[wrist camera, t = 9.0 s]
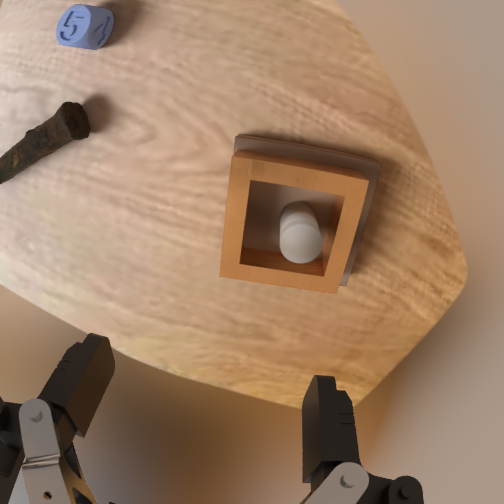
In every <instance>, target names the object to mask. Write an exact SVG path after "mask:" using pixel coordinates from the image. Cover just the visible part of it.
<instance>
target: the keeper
mask: <svg viewBox="0 0 504 504" xmlns="http://www.w3.org/2000/svg"><path fill="white" fill-rule="evenodd" d="M237 150H242V151H249V152H257V153H263V154H270V155H276V156H283V157H289V158H294V159H300V160H306V161H311V162H317V163H322V164H327V165H332V166H337V167H342V168H346V169H351V170H356V171H360V172H361V173H362V174H363V175H364V176H365V177H366V178H367V179H368V180H369V184H368V188H367V192H366V196H365V199H364V203H363V207H362V211H361V214H360V218H359V222H358V225H357V229H356V232H355V236H354V239H353V243H352V246H351V249H350V253H349V256H348V259H347V263H346V266H345V269H344V272H343V275H342V278H341V281H340V286H346V285H347V282H348V280H349V277H350V273H351V270H352V267H353V264H354V261H355V258H356V255H357V252H358V248H359V245H360V242H361V239H362V235H363V232H364V228H365V225H366V221H367V218H368V214H369V211H370V207H371V203H372V200H373V196H374V192H375V188H376V184H377V180H378V176H379V172H380V168H381V164H380V163H379V162H377V161H376V160H375V159H371V158H366V157H362V156H358V155H353V154H349V153H344V152H340V151H335V150H330V149H325V148H320V147H315V146H310V145H304V144H299V143H293V142H287V141H281V140H275V139H268V138H261V137H254V136H247V135H239V134H238V135H237V136H236V137H235V145H234V153H235V152H236V151H237ZM234 153H233V155H234ZM335 198H336V194H332V193H326V192H321V191H316V190H310V189H304V188H299V187H293V186H287V185H281V184H274V183H268V182H262V181H255V180H252V185H251V193H250V200H249V207H248V215H247V222H246V229H245V237H244V244H243V247H246V248H253V249H259V250H266V251H272V252H279V253H282V254H283V255H284V256H285V258H287V259H288V260H290V261H292V262H294V263H307V262H310V261H312V260H314V259H315V258H317V259H320V258H321V254H322V250H323V246H324V243H325V239H326V235H327V231H328V227H329V223H330V219H331V215H332V210H333V206H334V202H335Z"/></svg>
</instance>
